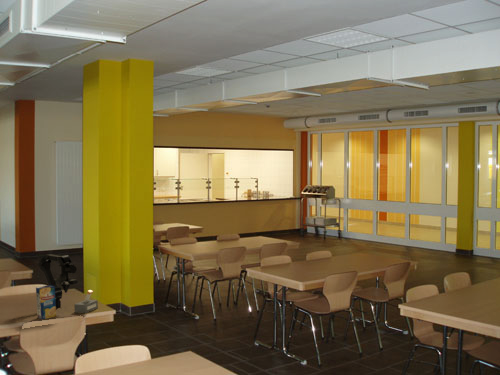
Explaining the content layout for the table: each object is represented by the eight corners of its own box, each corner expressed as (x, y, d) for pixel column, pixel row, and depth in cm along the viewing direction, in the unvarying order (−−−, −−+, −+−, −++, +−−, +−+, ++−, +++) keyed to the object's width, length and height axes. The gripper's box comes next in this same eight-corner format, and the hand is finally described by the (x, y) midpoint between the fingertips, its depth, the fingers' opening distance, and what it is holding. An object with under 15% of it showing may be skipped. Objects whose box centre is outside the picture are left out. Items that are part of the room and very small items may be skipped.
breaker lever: (83, 300, 393) (87, 290, 391) (86, 299, 396) (90, 289, 395) (86, 301, 392) (90, 292, 390) (89, 300, 396) (93, 291, 394)
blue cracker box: (37, 317, 379) (35, 287, 378) (52, 314, 386) (50, 284, 385) (41, 319, 374) (39, 289, 373) (56, 316, 381) (54, 286, 380)
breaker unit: (74, 312, 390) (74, 303, 390) (87, 307, 403) (86, 299, 403) (85, 313, 386) (85, 304, 386) (97, 308, 399) (97, 300, 399)
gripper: (47, 273, 393) (48, 294, 394) (67, 274, 386) (68, 295, 387) (58, 270, 404) (59, 291, 404) (77, 271, 397) (78, 292, 397)
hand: (65, 292), depth 398 cm, fingers closed
